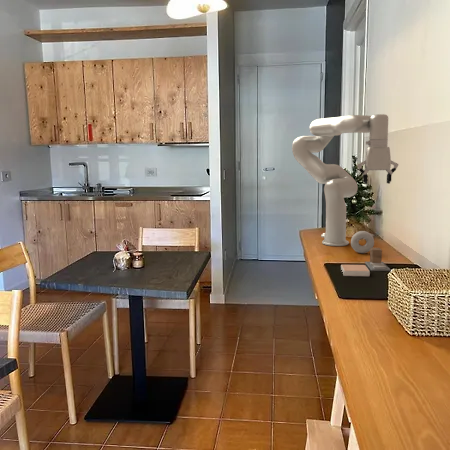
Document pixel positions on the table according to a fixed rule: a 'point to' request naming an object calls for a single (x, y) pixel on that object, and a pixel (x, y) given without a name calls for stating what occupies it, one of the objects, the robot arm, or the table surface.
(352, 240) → the donut
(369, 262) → the mat
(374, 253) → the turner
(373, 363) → the table surface
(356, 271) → the tile
